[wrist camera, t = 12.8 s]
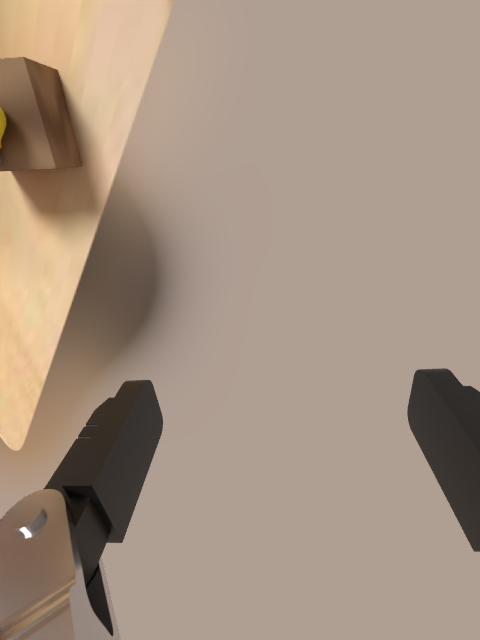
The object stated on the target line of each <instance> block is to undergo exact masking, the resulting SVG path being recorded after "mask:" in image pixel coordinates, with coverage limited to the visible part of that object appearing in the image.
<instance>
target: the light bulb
mask: <svg viewBox="0 0 480 640" xmlns="http://www.w3.org/2000/svg"><path fill="white" fill-rule="evenodd" d="M5 128H6V117H5V114H4V111H3V110H2V108H1V107H0V148H1V139H2V136H3V134H4V131H5ZM1 162H2V161H1V157H0V164H1Z"/></svg>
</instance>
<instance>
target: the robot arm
mask: <svg viewBox="0 0 480 640" xmlns="http://www.w3.org/2000/svg"><path fill="white" fill-rule="evenodd" d="M408 421H409V425H410V428H411V430H412V432H413V434H414V436H415V438H416V440H417V442H418V444H419V446H420V448H421V450H422V452H423V453H424V456H425V458H426V460H427V461H428V463H429V465H430V467H431V469H432V471H433V473H434V475H435V476H436V478H437V481H438V483H439V485H440V486H441V489H442V490H443V492H444V494H445V496H446V498H447V500H448V502H449V504H450V506H451V508H452V510H453V512H454V514H455V516H456V517H457V519H458V521H459V523H460V525H461V527H462V529H463V531H464V533H465V535H466V537H467V539H468V541H469V542H470V545H471V547H472V548H473V550H474V551H480V392H479V391H478V390H476V389H474V388H473V387H471V386H463V385H462V384H461V383H460V382H459V381H458V379H457V378H456V377H455V376H454V375H453V373H452V372H451V371H450V370H448V369H424V370H423V369H422V370H417V371H416V372H415V375H414V379H413V384H412V389H411V394H410V399H409V404H408ZM162 428H163V418H162V413H161V410H160V407H159V403H158V400H157V397H156V394H155V390H154V387H153V384H152V382H151V381H150V380H136V381H126V382H124V383H123V384H122V386H121V388H120V389H119V391H118V392H117V394H116V396H115V397H114V398H108V399H107V400H106V401H105V402H104V403H103V404H101V405H100V406H99V407H98V408H97V409H96V410H95V411H94V412H93V414H92V415H91V417H90V419H89V420H88V422H87V423H86V427H84V428H83V429H82V431H81V432H80V434H79V436H78V439H76V440H75V442H74V443H73V445H72V447H71V448H70V449H69V451H68V453H67V454H66V456H65V457H64V459H63V460H62V462H61V464H60V465H59V467H58V468H57V470H56V471H55V473H54V474H53V476H52V477H51V479H50V481H49V482H48V484H47V485H46V487H45V488H44V489H43V490H39V491H36V492H34V493H32V494H29V495H28V496H26V497H24V498H23V499H21V500H20V501H18V502H17V503H16V504H15V505H14V506H13V507H11V508H10V509H9V510H8V511H7V512H6V514H5V515H4V516H3V517H2V519H0V640H121V639H120V636H119V632H118V627H117V623H116V618H115V614H114V610H113V605H112V601H111V596H110V592H109V588H108V583H107V579H106V574H105V570H104V566H103V562H102V559H101V555H102V553H103V550H104V548H105V545H106V543H107V542H108V543H122V542H123V539H124V536H125V534H126V531H127V528H128V525H129V522H130V520H131V517H132V514H133V511H134V509H135V506H136V503H137V500H138V497H139V495H140V492H141V489H142V486H143V483H144V481H145V478H146V475H147V473H148V470H149V467H150V464H151V461H152V459H153V455H154V453H155V450H156V448H157V445H158V442H159V439H160V436H161V433H162Z"/></svg>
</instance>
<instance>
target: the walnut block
mask: <svg viewBox="0 0 480 640" xmlns="http://www.w3.org/2000/svg"><path fill="white" fill-rule="evenodd" d="M0 107H1V108H2V110H3V111H4V114H5V117H6V128H5V131H4V134H3V136H2V139H1V148H0V157H1V161H2V162H1V164H0V171H15V170H34V169H54V168H65V167H76V166H82V164H81V160H80V157H79V153H78V149H77V145H76V141H75V137H74V133H73V129H72V125H71V121H70V117H69V114H68V110H67V106H66V102H65V98H64V94H63V90H62V86H61V82H60V78H59V75H58V71H57V70H56V69H53V68H51V67H48V66H46V65H43V64H40V63H38V62H35V61H32V60H30V59H27V58H25V57H18V58H6V59H0Z"/></svg>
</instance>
